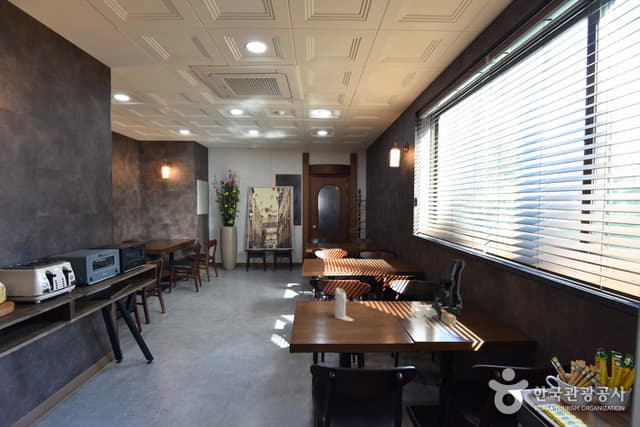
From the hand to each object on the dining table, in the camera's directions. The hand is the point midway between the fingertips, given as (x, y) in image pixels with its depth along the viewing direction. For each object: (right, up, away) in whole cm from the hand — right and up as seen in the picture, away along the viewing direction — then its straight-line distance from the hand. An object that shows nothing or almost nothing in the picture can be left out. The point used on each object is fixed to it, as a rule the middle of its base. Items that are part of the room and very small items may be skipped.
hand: (446, 319), depth 212 cm
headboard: (-8, -1, +10) cm, 13 cm away
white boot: (-67, 0, +2) cm, 67 cm away
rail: (0, -1, 0) cm, 1 cm away
